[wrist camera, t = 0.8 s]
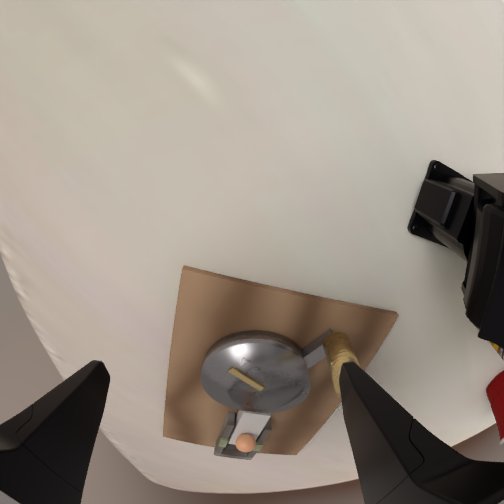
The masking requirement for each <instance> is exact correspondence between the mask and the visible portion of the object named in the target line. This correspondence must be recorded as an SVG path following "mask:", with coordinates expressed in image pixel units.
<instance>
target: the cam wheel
mask: <svg viewBox="0 0 504 504" xmlns="http://www.w3.org/2000/svg"><path fill="white" fill-rule="evenodd" d="M325 357H326V360H327V363H328V367H329V370H330V374H331V377H332V381H333V385H334V388H335V392H336V395H337V397H339V398H341V393H340V386H339V376H340V371H341V366H342V364H343V363H344V362H350V361H353V362H355V363H356V364H357V365H358V366H359V367H360V365H359V362H358V360H357V357H356V355H355V352H354V350H353V347H352V345H351V342H350V340H349V338H348V336H347V335H346V334H345V333H342V332H336V333H334V332H333V331H332V330H331V329H329V330H327V331H326V332H325V333H323V334H322V335H321V336H319V337H318V338H316V339H315V340H314V341H312V342H311V343H310V344H308V345H307V346H305V347H304V348H303V349H300V347H299V346H298V345H297V344H296V343H295V342H293V341H292V340H290V339H289V338H287V337H285V336H283V335H280V334H277V333H273V332H269V331H261V330H249V331H241V332H237V333H233V334H230V335H227V336H225V337H223V338H221V339H219V340H218V341H216V342H215V343H214V344H213V345H212V346H211V347H210V348H209V349H208V350H207V352H206V354H205V356H204V359H203V365H202V371H201V383H202V386H203V388H204V390H205V391H206V393H207V394H208V395H209V396H210V397H211V398H212V399H214V400H215V401H216V402H218V403H220V404H222V405H224V406H226V407H229V408H232V409H236V410H241V411H251V412H255V413H278V412H282V411H286V410H289V409H291V408H293V407H295V406H297V405H299V404H300V403H301V402H303V401H304V400H305V399H306V397H307V396H308V394H309V392H310V388H311V384H310V378H309V373H308V369H309V368H310V367H312V366H313V365H315V364H316V363H318V362H319V361H321V360H322V359H323V358H325Z"/></svg>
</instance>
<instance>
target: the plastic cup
mask: <svg viewBox="0 0 504 504" xmlns="http://www.w3.org/2000/svg"><path fill="white" fill-rule="evenodd" d="M486 392H487V396H488V399H489V401H490V404H491V408H492V411H493V414H494V417H495V419H496V423H497V426H498V430H499V433H500V444H502V443H504V371H503V372H501V373H500V374H499V375H497V376H496V377H495V378H494V379H493V380H492V381H491V383H490V384H489V385H488V387H487V389H486Z"/></svg>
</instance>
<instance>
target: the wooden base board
mask: <svg viewBox="0 0 504 504" xmlns="http://www.w3.org/2000/svg"><path fill="white" fill-rule="evenodd" d="M398 316H399V315H398V314H397V313H396V312H393V311H388V310H383V309H378V308H373V307H367V306H362V305H357V304H352V303H347V302H342V301H337V300H333V299H328V298H323V297H318V296H314V295H309V294H304V293H300V292H295V291H290V290H286V289H281V288H277V287H272V286H268V285H263V284H259V283H255V282H250V281H246V280H242V279H237V278H233V277H229V276H225V275H220V274H216V273H212V272H208V271H204V270H200V269H196V268H191V267H187V266H184V267H183V269H182V274H181V280H180V286H179V293H178V299H177V306H176V313H175V320H174V327H173V335H172V343H171V351H170V360H169V369H168V379H167V389H166V400H165V413H164V427H163V437H167V438H171V439H176V440H180V441H184V442H189V443H194V444H199V445H205V446H210V447H215V450H214V455H216V456H222V457H229V458H237V459H246V460H251V459H252V458H253V457H254V455H255V454H256V453H267V454H283V455H297V454H298V452H299V451H300V450H301V449H302V448H303V447H304V446H305V445H306V444H307V443H308V442H309V440H310V439H311V438H312V437H313V436H314V435H315V434H316V432H317V431H318V430H319V429H320V428H321V427H322V425H323V424H324V423H325V422H326V421H327V419H328V418H329V417H330V416H331V414H332V413H333V412H334V411H335V409H336V408H337V407H338V406H339V404H340V403H341V402H342V400H341V398H339V397H337V395H336V392H335V388H334V385H333V381H332V377H331V374H330V370H329V367H328V363H327V360H326V357H325V358H323V359H322V360H321V361H319V362H318V363H316V364H315V365H313V366H312V367H310V368H309V369H308V373H309V378H310V384H311V388H310V392H309V394H308V396H307V397H306V399H305V400H304V401H303V402H301V403H300V404H299V405H297V406H295V407H293V408H291V409H289V410H286V411H282V412H278V413H271V416H270V418H269V420H268V421H267V423H266V425H265V426H264V428H263V430H262V431H261V433H260V434H259V436H258V437H257V439H256V446H255V448H254V449H253V450H252V451H250V452H241V451H239V450H238V449H237V447H236V445H234V444H228V441H229V436H230V434H231V432H232V430H233V428H234V422H235V418H236V416H237V414H238V412H239V410H236V409H232V408H229V407H226V406H224V405H222V404H220V403H218V402H216V401H215V400H214V399H212V398H211V397H210V396H209V395H208V394H207V393H206V391H205V390H204V388H203V386H202V383H201V371H202V365H203V359H204V356H205V354H206V352H207V350H208V349H209V348H210V347H211V346H212V345H213V344H214V343H215V342H216V341H218V340H219V339H221V338H223V337H225V336H227V335H230V334H233V333H237V332H241V331H249V330H261V331H269V332H273V333H277V334H280V335H283V336H285V337H287V338H289V339H290V340H292V341H293V342H295V343H296V344H297V345H298V346H299V347H300V349H303V348H304V347H305V346H307V345H308V344H310V343H311V342H312V341H314V340H315V339H316V338H318V337H319V336H321V335H322V334H323V333H325V332H326V331H327V330H329V329H331V330H332V331H333V332H334V333H336V332H342V333H345V334H346V335H347V336H348V338H349V340H350V342H351V345H352V347H353V350H354V352H355V355H356V357H357V360H358V362H359V365H360V367H361V368H362V369H363V370H365V369H366V367H367V366H368V364H369V363H370V361H371V360H372V358H373V357H374V355H375V354H376V352H377V350H378V349H379V347H380V346H381V344H382V343H383V341H384V339H385V338H386V336H387V334H388V333H389V331H390V329H391V328H392V326H393V324H394V323H395V321H396V319H397V317H398Z"/></svg>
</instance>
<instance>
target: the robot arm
mask: <svg viewBox="0 0 504 504" xmlns="http://www.w3.org/2000/svg"><path fill="white" fill-rule="evenodd" d="M435 164H436V168H434V166H435ZM413 226H415V228H414V229H413ZM408 230H409V231H410V232H411V233H412V234H415V235H417V236H420V237H423V238H425V239H428V240H430V241H433V242H435V243H438V244H441V245H443V246H446V247H448V248H450V249H451V250H453V251H454V252H455V253H457V254H458V255H459V256H461V257H462V258H463V259H464V260H466V261H467V268H466V274H465V279H464V282H463V283H462V288H461V289H462V291H463V294H464V299H463V300H464V304H465V308H466V316H467V317H468V318H469V320H470V321H471V322H472V323H473V324H474V325H475V326H476V327H477V328H478V329H480V330H479V333H478V337H479V338H481V339H484V340H487V341H490V342H492V343H494V344H496V345H498V346H499V347H501V348H502V349H503V350H504V173H493V174H473V182H472V181H470V180H469V179H467V178H466V177H464V176H463V175H461V174H459V173H458V172H456V171H454V170H453V169H451V168H449V167H448V166H446V165H444V164H442V163H441V162H439V161H436V160H432V161H431V162H430V165H429V168H428V171H427V174H426V177H425V181H424V182H423V185H422V188H421V191H420V194H419V197H418V199H417V202H416V205H415V209H414V212H413V214H412V217H411V220H410V222H409V225H408ZM109 383H110V375H109V373H108V371H107V369H106V367H105V365H104V363H103V362H102V361H97V360H93V361H91V362H90V363H88V364H87V365H85V366H84V367H83V368H81V369H80V370H79V371H77V372H76V373H74V374H73V375H72V376H70V377H69V378H67V379H66V380H65V381H64V382H62V383H61V384H59V385H58V386H56V387H55V388H54V389H52V390H51V391H50V392H48V393H47V394H45V395H44V396H43V397H41V398H40V399H39V400H37V401H36V402H34V404H32V405H30V406H29V407H28V408H26V409H25V410H23V411H22V412H21V413H19V414H17V415H16V416H14V417H13V418H11V419H9V420H7V421H6V422H4V423H2V424H1V425H0V504H81V498H82V493H83V489H84V484H85V479H86V475H87V471H88V466H89V463H90V459H91V455H92V451H93V447H94V443H95V440H96V436H97V433H98V429H99V426H100V423H101V419H102V416H103V412H104V408H105V403H106V398H107V393H108V388H109ZM339 386H340V393H341V400H342V407H343V414H344V420H345V424H346V428H347V432H348V436H349V440H350V444H351V447H352V451H353V455H354V460H355V464H356V468H357V472H358V476H359V480H360V485H361V489H362V493H363V497H364V502H365V504H504V462H489V461H476V460H472V459H469V458H467V457H465V456H463V455H461V454H460V453H458V452H457V451H455V450H454V449H452V448H451V447H450V446H448V445H447V444H446V443H444V442H443V441H441V440H440V439H439V438H437V437H436V436H435V435H433V434H432V433H431V432H429V431H428V430H427V429H426V428H425V427H424V426H423V425H421V424H420V423H419V422H418V421H417V420H416V419H415V418H414V419H413V416H412V415H411V414H409V413H408V412H407V411H406V410H405V409H404V408H403V407H402V406H401V405H400V404H399V403H398V402H397V401H396V400H394V399H393V398H392V397H391V396H390V395H389V394H388V393H387V392H386V391H385V390H384V389H383V388H382V387H381V386H380V385H379V384H377V383H376V382H375V381H374V380H373V379H372V378H371V377H370V376H369V375H368V374H367V373H366V372H365V371H364V370H363V369H362V368H361V367H359V366H358V365H357V364H356V363H355V362H353V361H350V362H344V363H343V364H342V366H341V371H340V376H339Z"/></svg>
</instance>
